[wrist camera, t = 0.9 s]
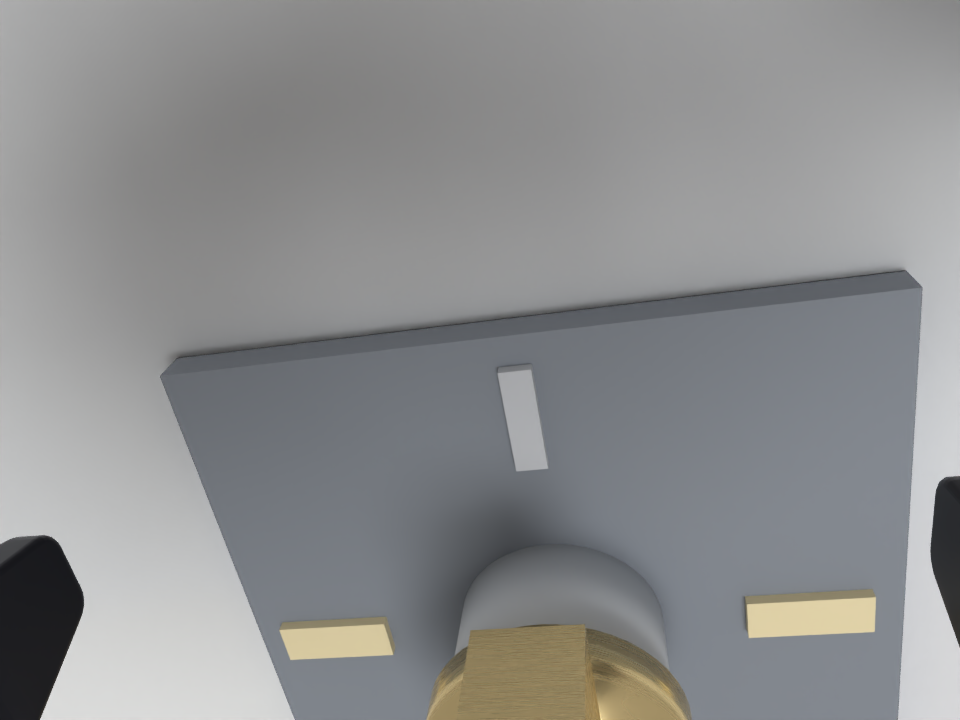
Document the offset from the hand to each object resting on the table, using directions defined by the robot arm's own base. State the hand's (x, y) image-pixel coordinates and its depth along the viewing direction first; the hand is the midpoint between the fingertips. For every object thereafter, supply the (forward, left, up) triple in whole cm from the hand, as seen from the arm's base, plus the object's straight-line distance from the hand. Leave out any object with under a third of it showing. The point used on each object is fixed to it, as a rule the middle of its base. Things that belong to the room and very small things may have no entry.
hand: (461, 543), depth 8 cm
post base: (+1, +12, -12) cm, 17 cm away
